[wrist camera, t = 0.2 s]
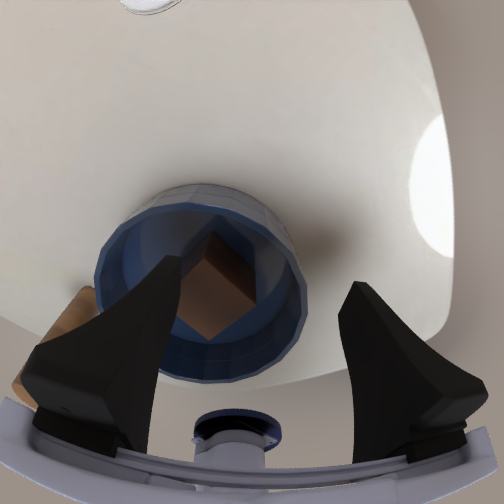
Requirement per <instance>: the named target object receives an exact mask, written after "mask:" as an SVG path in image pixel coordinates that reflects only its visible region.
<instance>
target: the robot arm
mask: <svg viewBox="0 0 504 504" xmlns="http://www.w3.org/2000/svg"><path fill="white" fill-rule="evenodd" d="M181 260H182V257H179V256H172V255H166V256H164V257H163V258H162V260H161V261H160V262H159V263H158V264H157V265H156V266H155V267H154V268H153V269H152V270H151V271H150V272H149V273H148V274H147V275H146V276H145V277H144V278H143V279H142V280H141V281H140V282H139V283H138V284H137V285H136V286H135V287H133V288H132V289H131V290H130V291H129V292H128V293H127V294H125V295H124V296H123V297H122V298H121V299H119V300H118V301H117V302H116V303H114V304H113V305H112V306H110V307H109V308H108V309H106V310H105V311H104V312H102V313H100V314H99V315H97V316H96V317H94V318H93V319H91V320H89V321H88V322H86V323H85V324H83V325H81V326H79V327H77V328H75V329H73V330H71V331H69V332H67V333H65V334H63V335H61V336H59V337H56V338H54V339H51V340H49V341H46V342H44V343H41V344H38V345H36V346H35V348H34V349H33V351H32V353H31V354H30V356H29V358H28V360H27V362H26V365H25V367H24V369H23V371H22V373H21V375H20V380H21V384H22V385H23V387H24V388H25V390H26V391H27V392H28V394H29V395H30V396H31V397H32V398H33V400H34V401H35V402H36V403H37V405H38V408H37V411H36V413H35V412H34V411H33V410H31V409H30V408H28V407H26V406H24V405H22V404H20V403H18V402H16V401H14V400H12V399H10V398H8V397H4V399H3V402H2V404H1V406H0V463H1V464H3V465H5V466H6V467H8V468H10V469H11V470H13V471H15V472H16V473H18V474H20V475H22V476H24V477H25V478H28V479H29V480H31V481H33V482H35V483H37V484H39V485H41V486H43V487H45V488H47V489H49V490H52V491H54V492H56V493H58V494H60V495H63V496H65V497H68V498H70V499H72V500H75V501H77V502H80V503H83V504H428V503H430V502H433V501H436V500H438V499H440V498H443V497H445V496H447V495H449V494H452V493H454V492H456V491H459V490H461V489H463V488H465V487H467V486H469V485H471V484H473V483H475V482H477V481H479V480H481V479H483V478H485V477H486V476H488V475H490V474H492V473H493V472H495V471H497V470H498V465H497V461H496V458H495V454H494V451H493V448H492V445H491V441H490V438H489V435H488V432H487V429H486V427H485V426H483V427H480V428H478V429H475V430H472V431H470V432H468V433H466V434H465V433H464V430H463V429H464V428H466V427H467V424H466V421H465V419H467V418H468V417H469V416H470V415H472V414H473V413H474V412H475V411H476V410H478V409H479V408H480V407H481V406H482V405H483V404H484V403H485V402H486V400H487V398H488V392H487V390H486V388H485V385H484V383H483V381H482V380H481V379H479V378H477V377H475V376H473V375H471V374H469V373H467V372H466V371H464V370H462V369H461V368H459V367H457V366H456V365H454V364H453V363H451V362H450V361H448V360H446V359H445V358H444V357H443V356H441V355H440V354H439V353H437V352H436V351H435V350H433V349H432V348H431V347H430V346H428V345H427V344H426V343H425V342H424V341H423V340H422V339H420V338H419V337H418V336H417V335H416V334H415V333H414V332H413V331H412V330H411V329H410V328H409V327H408V326H407V325H406V324H405V323H404V322H403V321H402V320H401V319H400V318H399V317H398V316H397V315H396V314H395V312H394V311H393V310H392V309H391V308H390V307H389V306H388V305H387V304H386V303H385V301H384V300H383V299H382V298H381V297H380V296H379V295H378V294H377V293H376V292H375V291H374V290H373V288H372V287H371V286H370V285H368V284H367V283H366V282H358V281H354V282H353V284H352V287H351V289H350V291H349V293H348V295H347V297H346V299H345V301H344V303H343V305H342V307H341V309H340V311H339V314H338V321H339V330H340V337H341V341H342V346H343V350H344V354H345V358H346V362H347V366H348V370H349V375H350V380H351V385H352V395H353V406H354V449H353V462H352V464H349V465H339V466H328V467H316V468H315V467H314V468H290V469H266V468H265V460H264V459H265V457H264V447H266V446H269V445H271V444H273V443H276V442H277V438H275V437H273V436H271V435H268V434H266V433H264V432H262V431H260V430H258V429H256V428H254V427H252V426H250V425H248V424H246V423H244V422H242V421H240V420H234V421H232V422H230V423H227V424H225V425H223V426H221V427H219V428H216V429H214V430H212V431H209V432H207V433H205V434H202V435H200V436H197V437H195V438H192V440H191V441H192V442H193V443H195V444H196V447H195V455H194V463H192V462H185V461H179V460H173V459H168V458H163V457H158V456H152V455H148V454H147V445H148V436H149V435H148V434H149V427H150V420H151V412H152V406H153V400H154V393H155V388H156V383H157V377H158V372H159V368H160V364H161V360H162V357H163V354H164V351H165V348H166V345H167V342H168V339H169V336H170V333H171V330H172V327H173V324H174V321H175V318H176V314H177V309H178V305H179V300H180V295H181ZM355 482H357V483H356V484H350V485H343V486H335V487H326V488H315V489H301V490H289V491H280V492H271V493H268V490H266V489H298V488H314V487H325V486H334V485H342V484H349V483H355ZM188 483H189V484H188ZM192 484H194V485H192ZM196 490H197V491H196Z"/></svg>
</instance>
